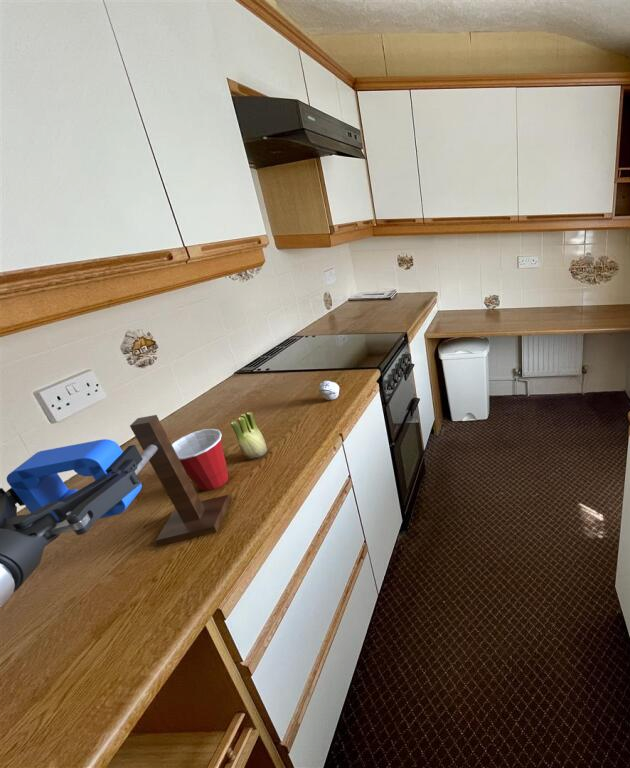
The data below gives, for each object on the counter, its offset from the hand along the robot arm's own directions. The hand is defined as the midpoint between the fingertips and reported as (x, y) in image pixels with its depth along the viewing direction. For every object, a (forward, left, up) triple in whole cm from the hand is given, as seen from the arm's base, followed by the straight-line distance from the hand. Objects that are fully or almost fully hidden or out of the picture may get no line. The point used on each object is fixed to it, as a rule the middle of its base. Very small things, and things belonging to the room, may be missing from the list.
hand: (94, 460), depth 61 cm
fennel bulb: (-29, +24, -26) cm, 46 cm away
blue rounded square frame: (+4, -2, -6) cm, 7 cm away
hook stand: (-9, +5, -26) cm, 28 cm away
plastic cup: (-25, +13, -26) cm, 38 cm away
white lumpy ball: (-43, +52, -26) cm, 72 cm away
